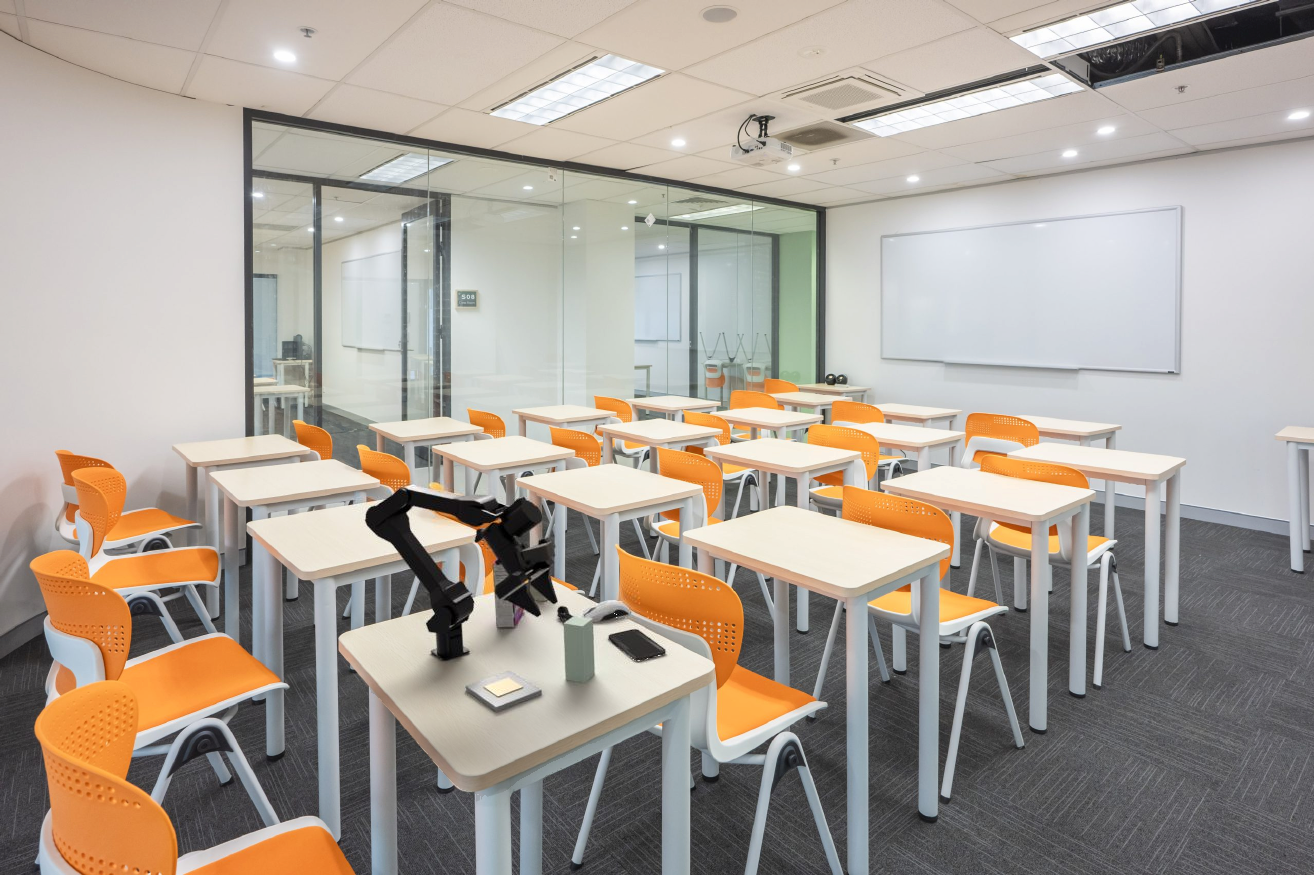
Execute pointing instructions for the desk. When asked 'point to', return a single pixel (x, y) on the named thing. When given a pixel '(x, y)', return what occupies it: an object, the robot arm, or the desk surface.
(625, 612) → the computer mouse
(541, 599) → the small box
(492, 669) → the desk surface
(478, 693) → the pad
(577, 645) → the sage block
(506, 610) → the candy bar box
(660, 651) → the phone
